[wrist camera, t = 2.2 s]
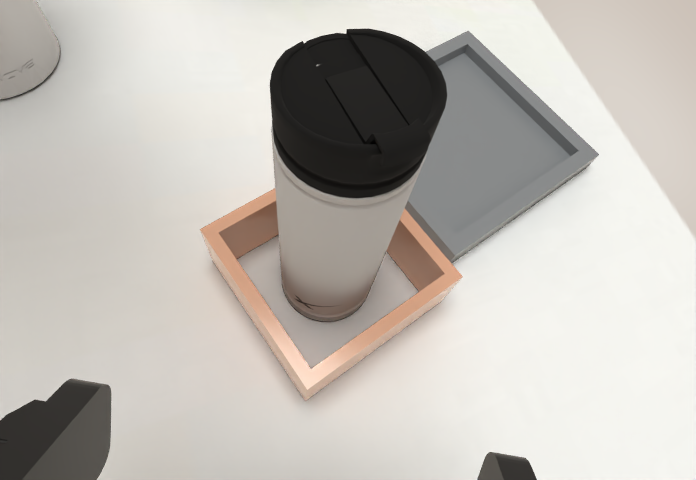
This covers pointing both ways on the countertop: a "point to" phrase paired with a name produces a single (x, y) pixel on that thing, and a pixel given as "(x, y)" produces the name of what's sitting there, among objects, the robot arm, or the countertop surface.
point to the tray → (488, 151)
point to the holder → (433, 285)
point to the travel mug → (347, 159)
